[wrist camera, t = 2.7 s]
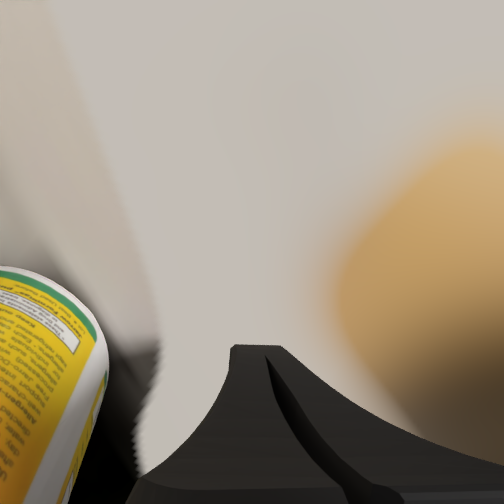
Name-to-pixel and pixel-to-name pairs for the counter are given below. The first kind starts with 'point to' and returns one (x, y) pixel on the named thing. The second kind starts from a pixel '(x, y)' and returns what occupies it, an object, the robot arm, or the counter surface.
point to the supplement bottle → (46, 387)
